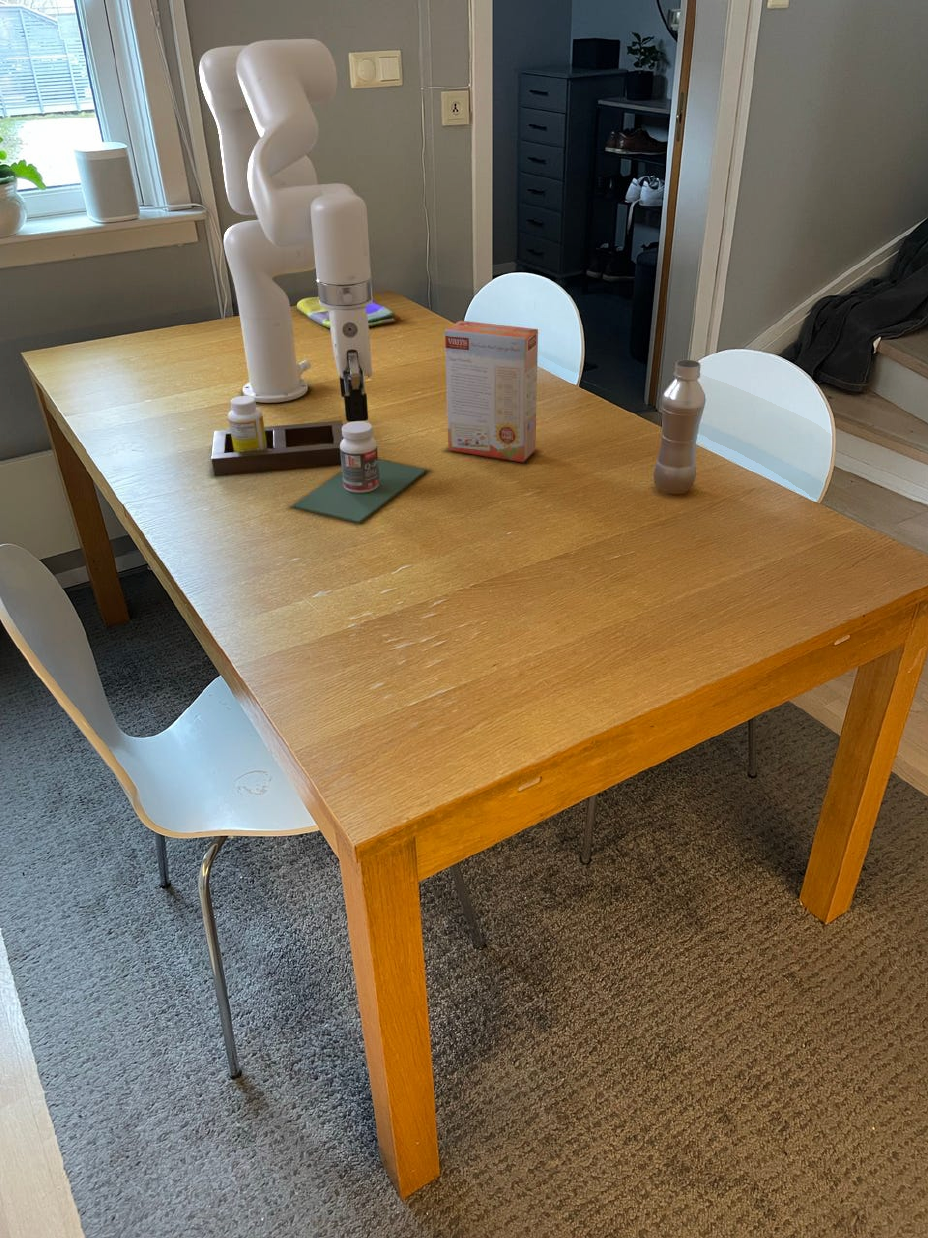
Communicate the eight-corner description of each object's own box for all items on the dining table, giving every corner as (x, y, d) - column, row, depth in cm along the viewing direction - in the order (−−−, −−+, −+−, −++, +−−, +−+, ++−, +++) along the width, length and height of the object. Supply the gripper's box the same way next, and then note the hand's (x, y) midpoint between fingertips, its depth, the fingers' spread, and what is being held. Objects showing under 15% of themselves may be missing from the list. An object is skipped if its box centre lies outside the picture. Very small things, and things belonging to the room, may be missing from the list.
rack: (217, 446, 161) (214, 430, 160) (343, 435, 164) (342, 419, 163) (214, 475, 151) (211, 458, 150) (349, 463, 154) (347, 447, 153)
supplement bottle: (254, 448, 160) (245, 391, 155) (275, 456, 157) (267, 398, 152) (228, 458, 157) (218, 400, 151) (249, 467, 154) (240, 408, 148)
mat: (364, 458, 156) (364, 456, 156) (426, 471, 151) (426, 469, 151) (293, 507, 142) (293, 505, 141) (359, 523, 137) (359, 521, 137)
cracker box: (536, 450, 158) (540, 327, 146) (523, 464, 153) (526, 338, 141) (462, 438, 163) (459, 317, 151) (447, 451, 158) (443, 328, 146)
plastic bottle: (696, 483, 146) (713, 358, 135) (690, 501, 141) (708, 373, 130) (655, 477, 148) (669, 354, 137) (648, 496, 143) (661, 369, 132)
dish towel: (328, 334, 214) (327, 322, 212) (294, 308, 232) (293, 297, 230) (398, 322, 220) (397, 311, 219) (359, 299, 238) (358, 287, 237)
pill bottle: (374, 495, 144) (369, 435, 138) (338, 492, 145) (333, 432, 139) (384, 479, 148) (379, 420, 143) (349, 477, 149) (344, 418, 144)
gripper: (378, 307, 123) (385, 428, 133) (366, 273, 137) (373, 385, 147) (321, 311, 122) (333, 432, 132) (315, 276, 136) (325, 388, 146)
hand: (354, 407), depth 139 cm, fingers open, 9 cm apart
